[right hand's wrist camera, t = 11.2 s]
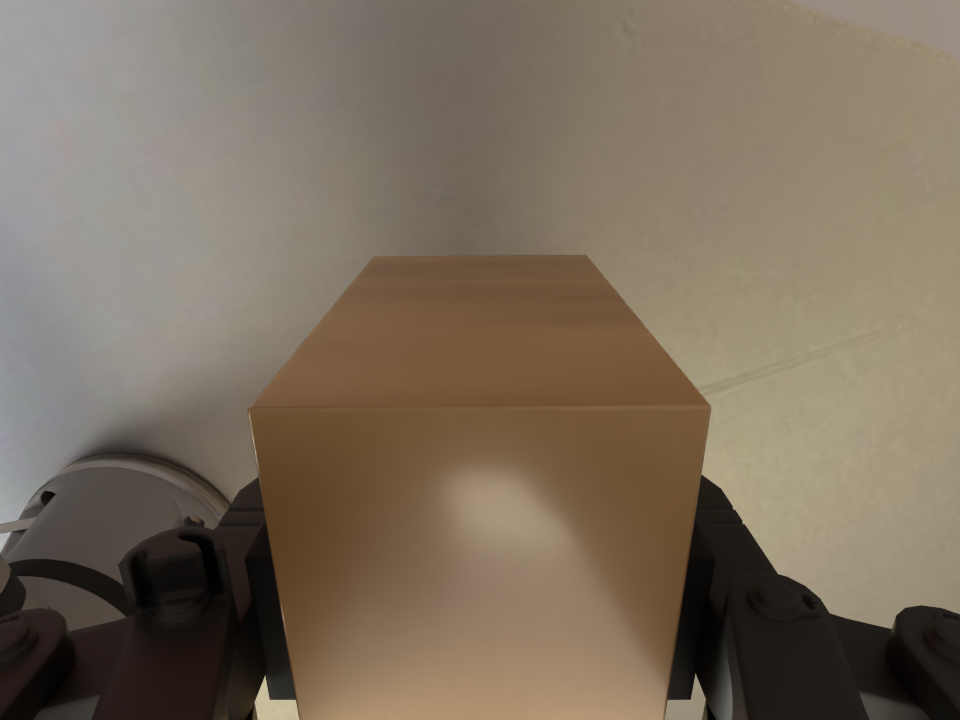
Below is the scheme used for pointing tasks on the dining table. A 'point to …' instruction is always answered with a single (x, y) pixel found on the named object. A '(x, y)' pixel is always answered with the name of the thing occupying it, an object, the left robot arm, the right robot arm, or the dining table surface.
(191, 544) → the right robot arm
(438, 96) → the dining table surface
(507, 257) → the beam
